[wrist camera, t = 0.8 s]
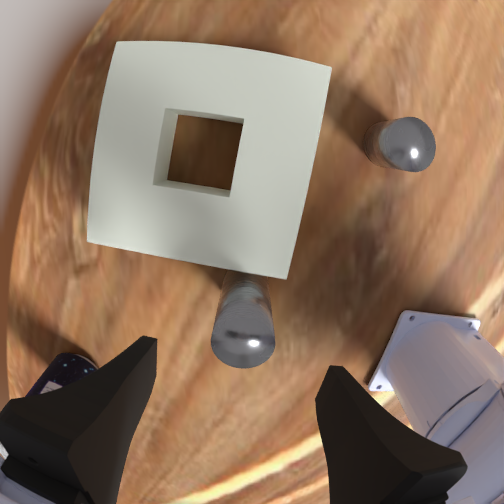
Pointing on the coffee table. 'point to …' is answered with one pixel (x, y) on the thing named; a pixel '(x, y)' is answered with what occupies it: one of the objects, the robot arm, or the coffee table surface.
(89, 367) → the beverage can
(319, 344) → the coffee table surface
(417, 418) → the robot arm
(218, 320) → the long pin
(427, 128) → the short pin
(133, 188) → the hole block
